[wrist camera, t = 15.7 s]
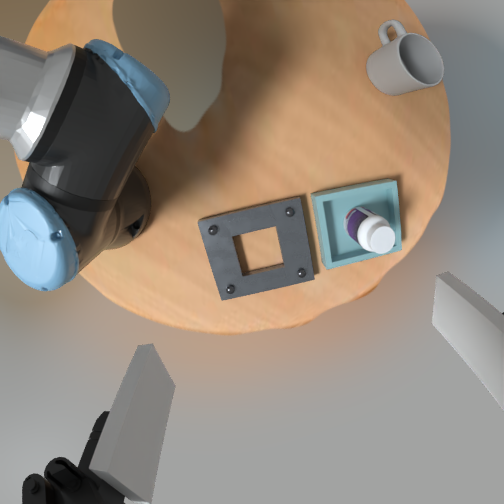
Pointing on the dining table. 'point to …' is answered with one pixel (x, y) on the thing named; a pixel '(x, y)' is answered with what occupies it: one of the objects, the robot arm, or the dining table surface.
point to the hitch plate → (248, 220)
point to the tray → (336, 207)
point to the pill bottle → (369, 230)
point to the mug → (404, 62)
